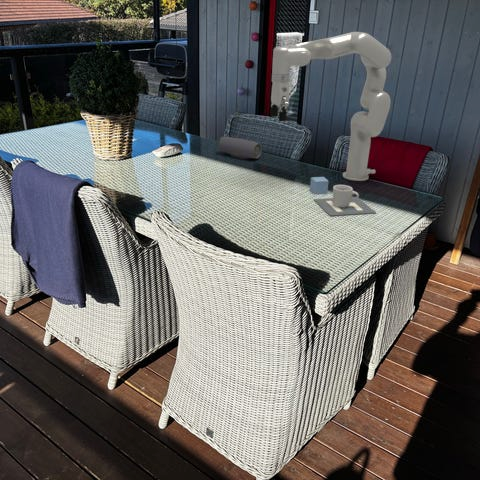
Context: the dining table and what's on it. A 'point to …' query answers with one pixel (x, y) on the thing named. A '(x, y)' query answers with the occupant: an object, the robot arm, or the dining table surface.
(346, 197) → the cup
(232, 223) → the dining table surface
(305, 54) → the robot arm
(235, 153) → the bluetooth speaker
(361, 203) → the letter mat
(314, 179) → the cube
